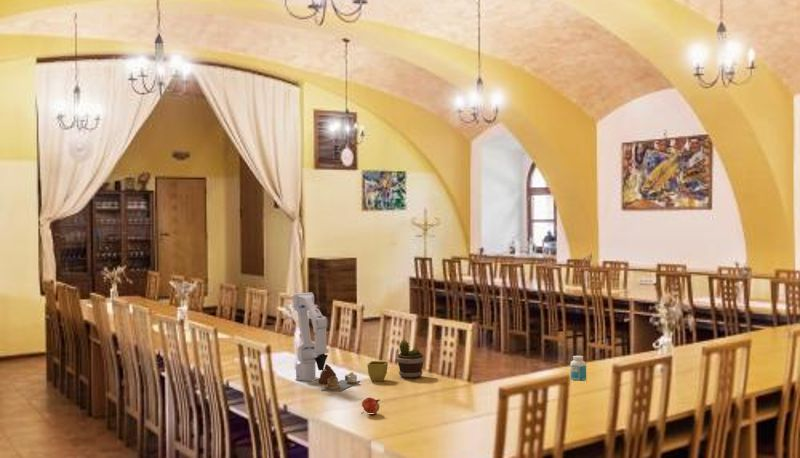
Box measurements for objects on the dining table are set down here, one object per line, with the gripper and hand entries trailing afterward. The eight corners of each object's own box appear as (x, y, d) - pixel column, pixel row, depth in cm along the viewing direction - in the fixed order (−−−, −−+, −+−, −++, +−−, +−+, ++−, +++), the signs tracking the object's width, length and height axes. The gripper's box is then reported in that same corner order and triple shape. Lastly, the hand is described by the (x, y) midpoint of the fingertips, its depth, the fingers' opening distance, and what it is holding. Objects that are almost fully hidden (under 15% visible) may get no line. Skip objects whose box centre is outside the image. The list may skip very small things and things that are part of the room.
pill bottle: (585, 382, 388) (585, 355, 388) (587, 385, 381) (587, 357, 381) (569, 382, 389) (569, 355, 389) (571, 385, 382) (571, 357, 382)
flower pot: (384, 382, 394) (384, 364, 394) (367, 382, 396) (367, 364, 396) (388, 379, 403) (388, 361, 403) (371, 378, 405) (371, 361, 405)
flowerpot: (429, 375, 411) (429, 336, 411) (417, 381, 397) (417, 340, 397) (404, 373, 418) (403, 335, 417) (391, 378, 404) (390, 339, 403)
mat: (321, 390, 378) (321, 389, 378) (341, 380, 401) (341, 379, 401) (340, 391, 375) (340, 390, 375) (360, 381, 397) (360, 380, 397)
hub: (345, 383, 392) (345, 373, 392) (349, 381, 396) (349, 371, 396) (354, 383, 391) (354, 373, 390) (357, 381, 395) (357, 371, 395)
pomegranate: (361, 422, 327) (379, 408, 324) (352, 406, 329) (370, 393, 326) (369, 419, 334) (387, 406, 331) (360, 404, 336) (378, 391, 333)
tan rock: (322, 388, 379) (322, 377, 379) (328, 385, 386) (328, 374, 386) (336, 389, 377) (336, 378, 377) (342, 386, 384) (342, 375, 384)
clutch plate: (343, 379, 394) (343, 375, 394) (352, 378, 397) (352, 373, 397) (349, 381, 389) (349, 376, 389) (359, 379, 393) (358, 375, 393)
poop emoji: (321, 385, 390) (321, 366, 390) (315, 382, 398) (315, 363, 398) (340, 383, 394) (340, 364, 394) (334, 380, 402) (334, 361, 402)
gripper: (321, 344, 381) (322, 373, 381) (334, 340, 394) (334, 367, 395) (308, 344, 383) (308, 372, 383) (321, 339, 397) (321, 366, 397)
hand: (320, 370), depth 389 cm, fingers closed
